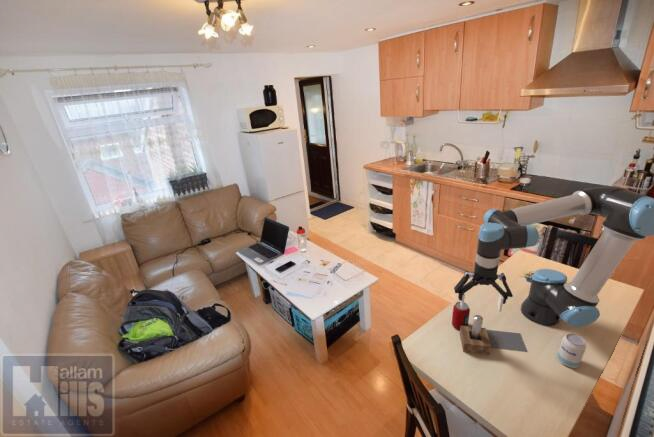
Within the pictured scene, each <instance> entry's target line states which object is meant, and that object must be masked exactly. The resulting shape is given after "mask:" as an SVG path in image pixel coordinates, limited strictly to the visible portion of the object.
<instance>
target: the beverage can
mask: <svg viewBox="0 0 654 437" xmlns="http://www.w3.org/2000/svg"><path fill="white" fill-rule="evenodd" d="M460 302H461V301H457V302H456V303H455V304H454V305H453V308H452V316H451V325H452V327H453V328H455V329H456V330H459V331H460V326H469V320H470V314H471V313H470V312H471V309H470V307H469V304H467V303H466V302H464V307H463V308H461V304H460Z"/></svg>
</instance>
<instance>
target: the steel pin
mask: <svg viewBox="0 0 654 437" xmlns="http://www.w3.org/2000/svg"><path fill="white" fill-rule="evenodd" d="M483 320H484V318H483V316H482V315H480V314H475V315H474V316H473V322H472V326H471V327H472V333H471V339H474V340H479V338H480V332H481V328H483V327H482V326H483Z"/></svg>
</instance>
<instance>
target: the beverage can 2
mask: <svg viewBox="0 0 654 437" xmlns="http://www.w3.org/2000/svg"><path fill="white" fill-rule="evenodd" d="M562 337H563V338H562V340H561V344H560V346H559V349H558V352H557V355H556V357H557V360H558V361H559V363H561V364H563V365H564V366H566V367H568V368H572V369H573V368H578V367H580V365H581V362H582V360H583V357H584V354H585V352H586V348H587V344H586V340H585V339H584V338H583V337H582V336H580V335H579V334H576V333H568V334H566V335H565V336H562Z"/></svg>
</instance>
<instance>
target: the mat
mask: <svg viewBox="0 0 654 437" xmlns="http://www.w3.org/2000/svg"><path fill="white" fill-rule="evenodd" d="M486 331H487V334H488V338H489V341H490V345H491V349H499V350H506V351H507V350H508V351H516V352H524V353H529V351H528V349H527V347H526V344H525V342H524V338H523V337H522V335H521V333H520V332H519V333H518V332H511V331H501V330H492V329H486Z"/></svg>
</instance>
